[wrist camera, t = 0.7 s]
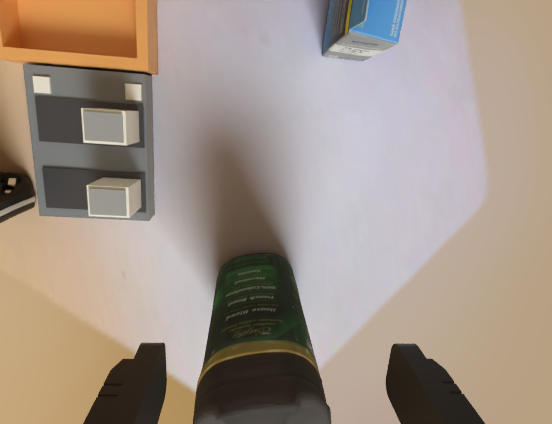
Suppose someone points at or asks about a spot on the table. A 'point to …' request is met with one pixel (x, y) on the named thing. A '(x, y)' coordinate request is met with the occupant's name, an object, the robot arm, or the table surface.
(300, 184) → the table surface
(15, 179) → the battery charger
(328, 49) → the label tape box
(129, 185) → the breaker
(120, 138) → the block
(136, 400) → the robot arm
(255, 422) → the coffee jar
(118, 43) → the tray
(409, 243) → the table surface
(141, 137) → the panel
